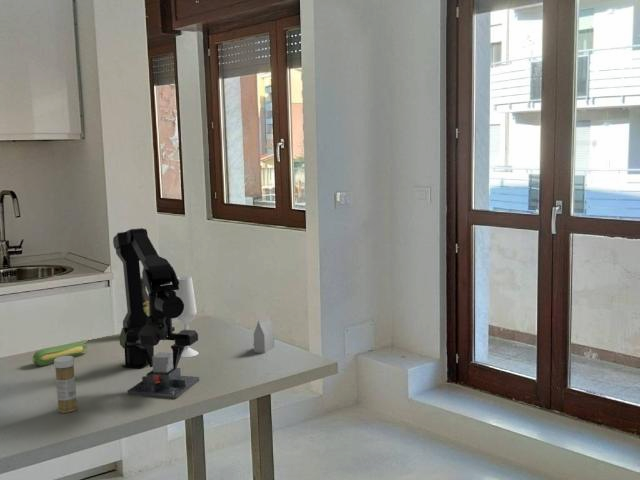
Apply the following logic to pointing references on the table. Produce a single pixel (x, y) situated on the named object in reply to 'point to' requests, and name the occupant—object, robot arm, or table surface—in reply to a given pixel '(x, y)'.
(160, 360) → the block
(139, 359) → the robot arm
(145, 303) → the sauce bottle
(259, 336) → the white gable top carton
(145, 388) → the jack base
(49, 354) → the edible corn
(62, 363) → the sprinkles bottle
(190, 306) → the champagne flute
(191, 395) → the table surface
